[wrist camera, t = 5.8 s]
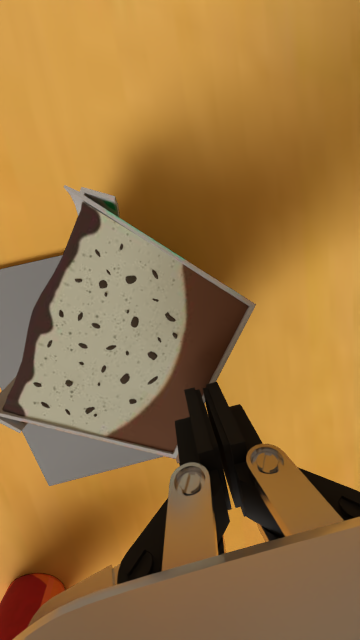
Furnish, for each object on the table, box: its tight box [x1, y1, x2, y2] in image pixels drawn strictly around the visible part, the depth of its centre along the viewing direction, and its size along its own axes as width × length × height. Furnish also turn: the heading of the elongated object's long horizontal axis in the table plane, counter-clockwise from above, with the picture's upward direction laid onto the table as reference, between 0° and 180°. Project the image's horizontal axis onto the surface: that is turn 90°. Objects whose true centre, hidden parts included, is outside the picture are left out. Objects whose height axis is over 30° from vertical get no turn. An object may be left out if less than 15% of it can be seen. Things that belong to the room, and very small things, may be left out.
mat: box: [0, 255, 163, 486], centre depth 19 cm, size 11×18×1 cm, turn 12°
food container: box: [0, 186, 256, 459], centre depth 15 cm, size 12×6×10 cm
